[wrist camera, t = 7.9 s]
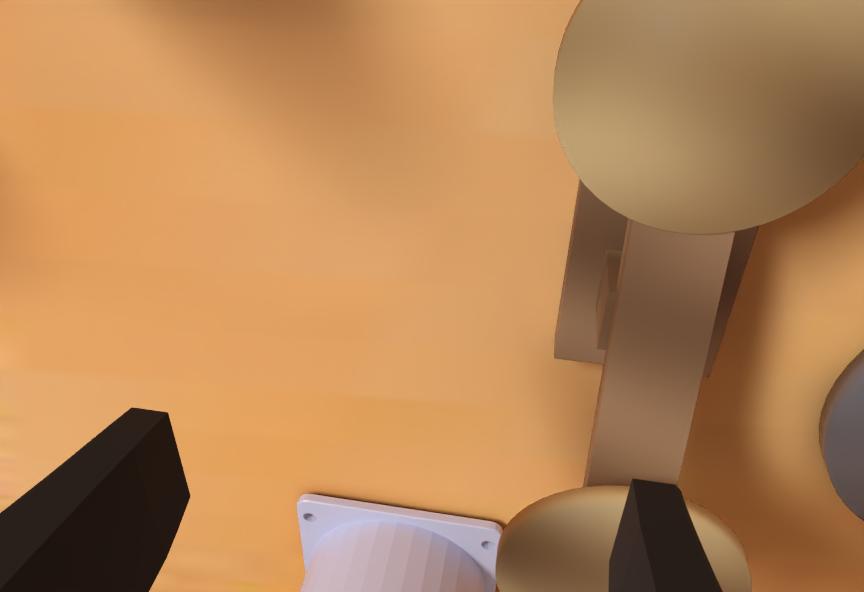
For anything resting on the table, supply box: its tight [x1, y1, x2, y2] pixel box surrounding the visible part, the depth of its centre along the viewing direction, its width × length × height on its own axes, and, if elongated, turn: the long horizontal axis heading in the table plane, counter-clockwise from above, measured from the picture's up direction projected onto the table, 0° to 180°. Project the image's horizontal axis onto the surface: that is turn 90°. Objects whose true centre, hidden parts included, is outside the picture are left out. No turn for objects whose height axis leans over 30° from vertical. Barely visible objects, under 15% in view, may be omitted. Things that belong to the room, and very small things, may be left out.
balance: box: [495, 0, 864, 592], centre depth 18 cm, size 18×6×6 cm, turn 179°
